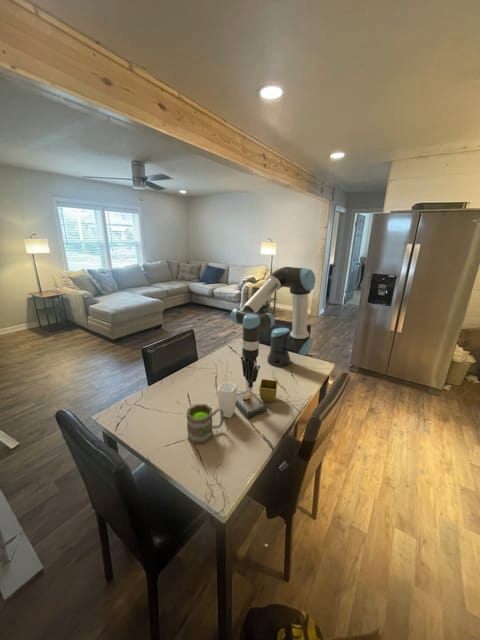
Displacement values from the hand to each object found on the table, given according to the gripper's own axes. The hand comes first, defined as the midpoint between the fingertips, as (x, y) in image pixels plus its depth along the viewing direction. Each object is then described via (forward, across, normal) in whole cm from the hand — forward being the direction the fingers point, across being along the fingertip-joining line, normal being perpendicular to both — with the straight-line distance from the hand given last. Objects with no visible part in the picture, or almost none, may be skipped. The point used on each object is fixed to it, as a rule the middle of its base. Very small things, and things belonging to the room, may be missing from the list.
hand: (249, 391), depth 127 cm
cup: (+8, 0, -12) cm, 15 cm away
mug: (+8, +7, -26) cm, 28 cm away
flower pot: (+9, 0, +12) cm, 15 cm away
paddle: (+4, -2, 0) cm, 5 cm away
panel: (+8, 0, 0) cm, 8 cm away
